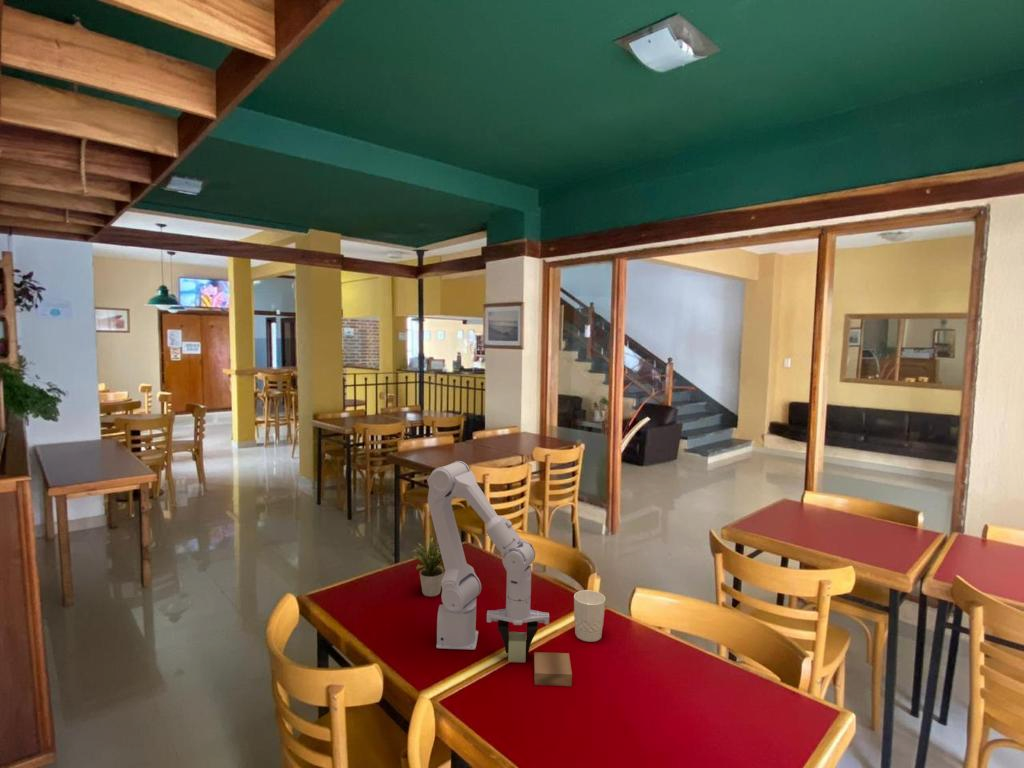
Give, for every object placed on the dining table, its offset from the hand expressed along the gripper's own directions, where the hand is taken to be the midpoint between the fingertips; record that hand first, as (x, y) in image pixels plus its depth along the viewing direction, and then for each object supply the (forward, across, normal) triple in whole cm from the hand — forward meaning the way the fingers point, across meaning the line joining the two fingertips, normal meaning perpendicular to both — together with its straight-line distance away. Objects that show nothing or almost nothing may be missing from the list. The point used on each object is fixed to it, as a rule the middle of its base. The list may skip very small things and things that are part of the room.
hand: (517, 651), depth 125 cm
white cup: (+2, +18, +11) cm, 21 cm away
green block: (+1, 0, 0) cm, 1 cm away
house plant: (+2, -26, +30) cm, 40 cm away
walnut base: (+2, +8, -6) cm, 10 cm away
